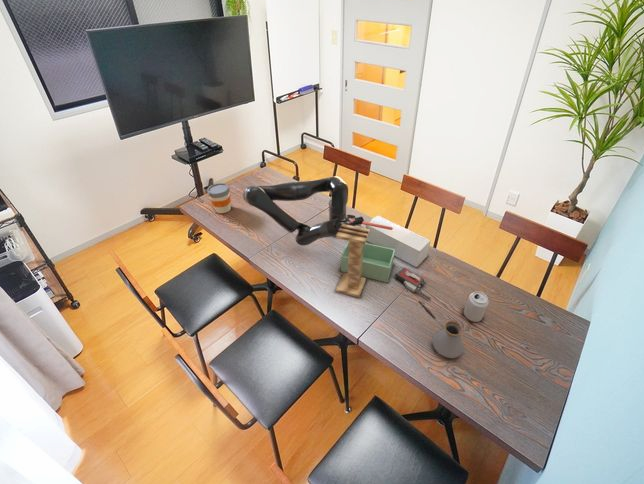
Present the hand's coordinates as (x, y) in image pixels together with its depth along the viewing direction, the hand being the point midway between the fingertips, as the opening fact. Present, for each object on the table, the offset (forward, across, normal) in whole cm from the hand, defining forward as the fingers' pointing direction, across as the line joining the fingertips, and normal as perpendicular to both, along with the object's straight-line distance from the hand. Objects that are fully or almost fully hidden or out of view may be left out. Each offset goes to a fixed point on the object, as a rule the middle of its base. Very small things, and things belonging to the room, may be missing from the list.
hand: (362, 219), depth 146 cm
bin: (-11, 0, +27) cm, 29 cm away
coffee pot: (+20, -30, +44) cm, 57 cm away
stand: (-14, -14, +25) cm, 32 cm away
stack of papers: (-2, +19, +32) cm, 37 cm away
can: (+32, -13, +51) cm, 62 cm away
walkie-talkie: (+10, -4, +39) cm, 40 cm away
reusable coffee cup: (-95, +20, -22) cm, 99 cm away
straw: (+3, 0, +3) cm, 4 cm away
